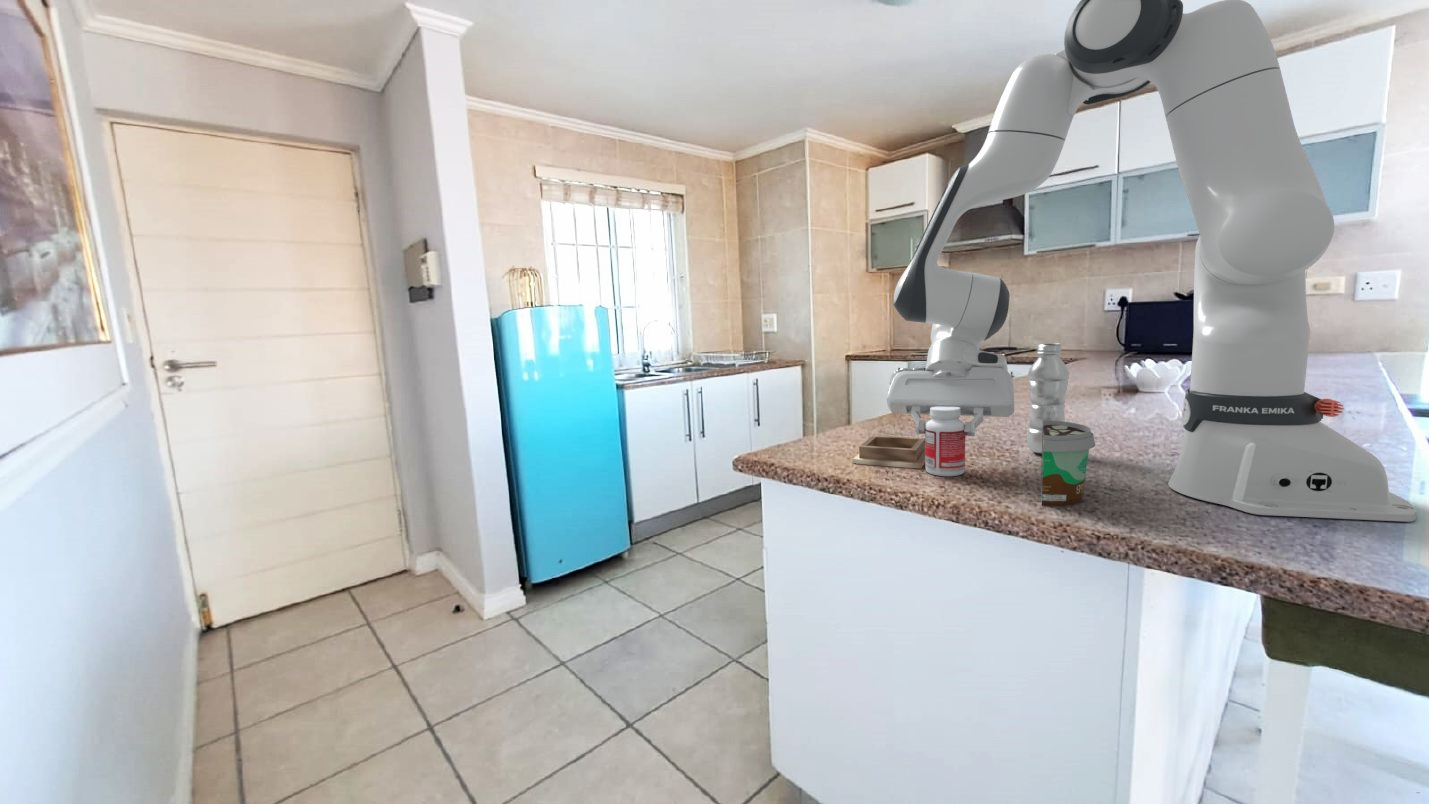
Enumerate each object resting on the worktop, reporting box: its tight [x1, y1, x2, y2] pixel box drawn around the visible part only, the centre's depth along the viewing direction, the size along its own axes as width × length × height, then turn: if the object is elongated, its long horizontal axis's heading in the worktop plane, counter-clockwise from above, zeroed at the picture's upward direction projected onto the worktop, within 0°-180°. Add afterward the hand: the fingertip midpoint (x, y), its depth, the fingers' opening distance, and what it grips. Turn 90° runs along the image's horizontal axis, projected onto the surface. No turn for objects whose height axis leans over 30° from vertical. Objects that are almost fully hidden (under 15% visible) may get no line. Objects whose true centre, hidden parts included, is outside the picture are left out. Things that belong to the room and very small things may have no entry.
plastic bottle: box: [1025, 343, 1070, 455], centre depth 100 cm, size 6×7×20 cm
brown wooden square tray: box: [852, 435, 926, 469], centre depth 104 cm, size 12×12×3 cm
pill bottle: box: [924, 406, 966, 477], centre depth 93 cm, size 6×6×11 cm
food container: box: [1040, 420, 1096, 507], centre depth 77 cm, size 12×6×10 cm, turn 150°
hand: (944, 433), depth 92 cm, fingers closed on pill bottle, 6 cm apart
